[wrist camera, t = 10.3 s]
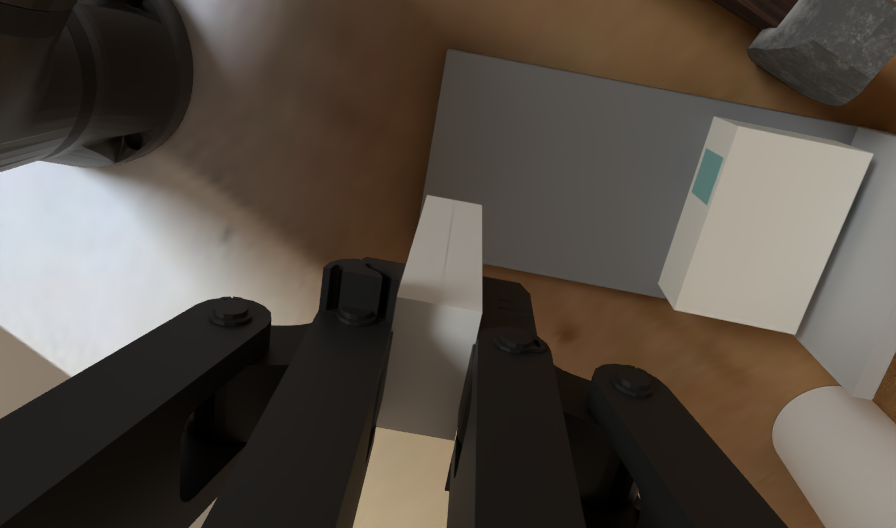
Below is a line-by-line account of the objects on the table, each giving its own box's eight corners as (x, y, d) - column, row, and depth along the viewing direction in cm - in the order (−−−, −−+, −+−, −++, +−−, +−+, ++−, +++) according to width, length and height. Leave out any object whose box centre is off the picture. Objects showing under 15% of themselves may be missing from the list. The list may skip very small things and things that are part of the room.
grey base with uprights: (417, 241, 48) (391, 307, 37) (449, 48, 43) (431, 55, 32) (810, 317, 48) (906, 406, 36) (889, 131, 43) (1028, 169, 31)
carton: (657, 283, 45) (673, 309, 41) (713, 116, 41) (737, 126, 37) (768, 306, 45) (795, 334, 41) (836, 140, 41) (874, 153, 37)
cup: (770, 392, 50) (886, 547, 35) (883, 379, 49) (1051, 534, 34) (772, 477, 53) (880, 655, 38) (878, 467, 52) (1033, 647, 37)
